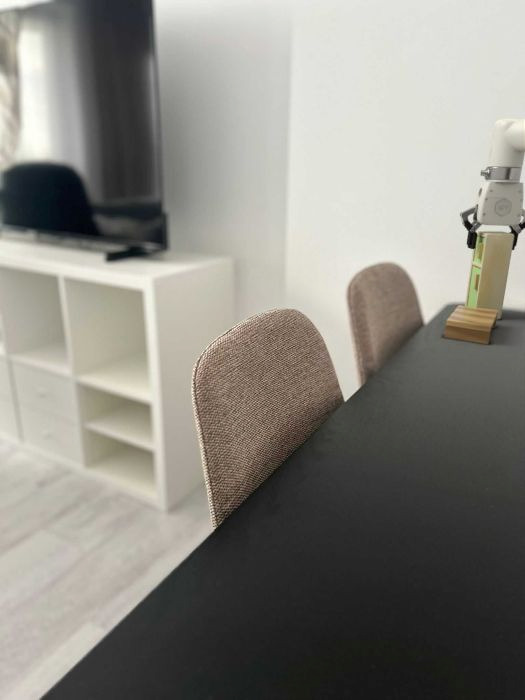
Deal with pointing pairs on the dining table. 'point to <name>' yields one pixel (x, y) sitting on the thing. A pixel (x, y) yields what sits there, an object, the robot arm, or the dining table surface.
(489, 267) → the toy refrigerator
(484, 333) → the oak shelf
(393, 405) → the dining table surface
